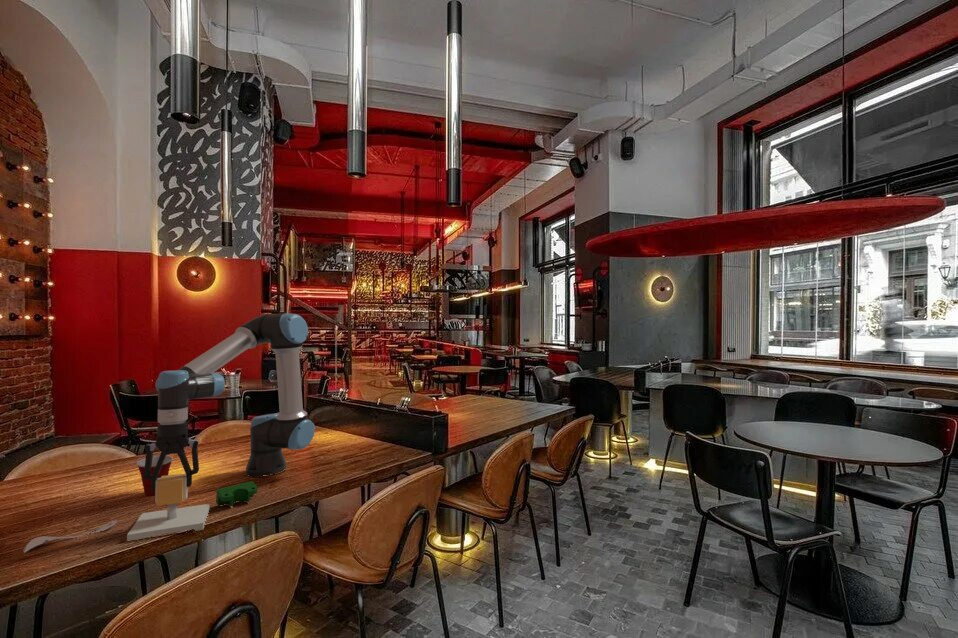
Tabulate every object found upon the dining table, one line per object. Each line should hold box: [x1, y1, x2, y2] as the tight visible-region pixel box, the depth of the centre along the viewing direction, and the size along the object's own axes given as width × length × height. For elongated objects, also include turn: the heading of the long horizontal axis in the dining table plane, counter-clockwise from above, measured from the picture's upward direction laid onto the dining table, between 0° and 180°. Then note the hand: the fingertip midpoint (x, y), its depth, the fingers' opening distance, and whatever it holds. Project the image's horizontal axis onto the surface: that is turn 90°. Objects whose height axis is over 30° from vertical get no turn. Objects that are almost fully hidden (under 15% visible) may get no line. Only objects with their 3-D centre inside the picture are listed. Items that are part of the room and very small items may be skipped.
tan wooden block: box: [156, 472, 186, 507], centre depth 136 cm, size 6×6×7 cm
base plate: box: [126, 503, 211, 542], centre depth 136 cm, size 18×16×8 cm
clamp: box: [215, 480, 259, 507], centre depth 151 cm, size 12×6×9 cm, turn 131°
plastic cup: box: [136, 454, 174, 497], centre depth 162 cm, size 11×11×12 cm
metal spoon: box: [22, 519, 118, 554], centre depth 127 cm, size 20×4×5 cm
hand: (171, 499), depth 136 cm, fingers closed on tan wooden block, 6 cm apart
